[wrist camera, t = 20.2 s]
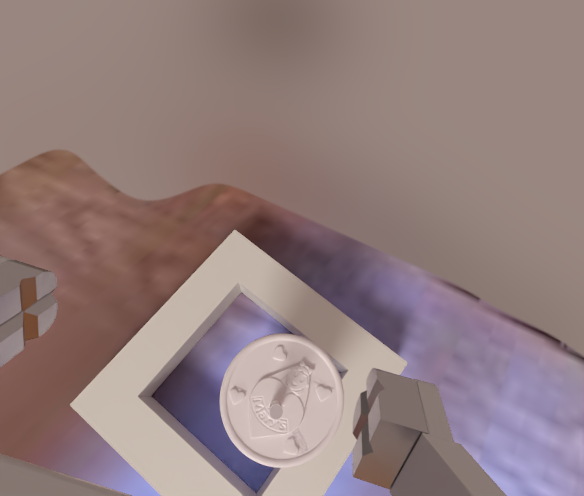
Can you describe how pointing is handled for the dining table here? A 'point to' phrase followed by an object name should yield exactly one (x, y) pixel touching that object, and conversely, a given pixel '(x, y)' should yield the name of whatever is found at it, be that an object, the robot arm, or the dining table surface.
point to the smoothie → (282, 400)
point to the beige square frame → (178, 343)
